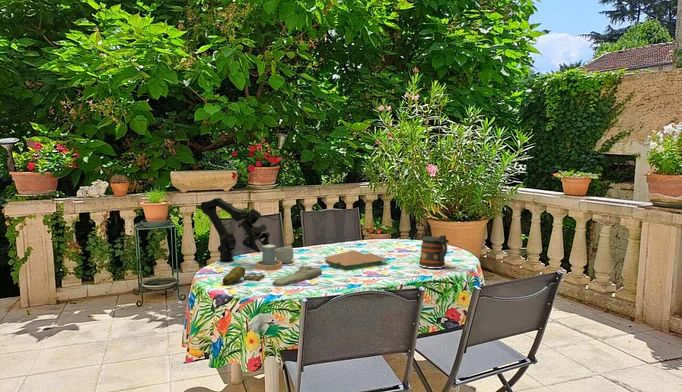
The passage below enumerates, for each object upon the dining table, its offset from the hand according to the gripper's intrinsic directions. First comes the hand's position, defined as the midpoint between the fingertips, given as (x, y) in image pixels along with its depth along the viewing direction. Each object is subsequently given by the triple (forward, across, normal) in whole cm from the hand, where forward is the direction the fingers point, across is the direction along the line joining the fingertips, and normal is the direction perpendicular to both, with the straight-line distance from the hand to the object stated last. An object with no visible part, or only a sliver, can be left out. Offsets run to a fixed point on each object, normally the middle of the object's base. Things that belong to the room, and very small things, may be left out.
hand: (264, 250), depth 278 cm
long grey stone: (+28, -10, -15) cm, 33 cm away
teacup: (+8, +17, +6) cm, 20 cm away
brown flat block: (+33, +35, -20) cm, 52 cm away
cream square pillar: (+9, 0, +4) cm, 10 cm away
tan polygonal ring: (+9, 0, +4) cm, 10 cm away
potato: (+12, -33, +2) cm, 35 cm away
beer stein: (+63, +52, -52) cm, 97 cm away
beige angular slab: (+14, -24, -1) cm, 27 cm away
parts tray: (+14, -23, -1) cm, 27 cm away
